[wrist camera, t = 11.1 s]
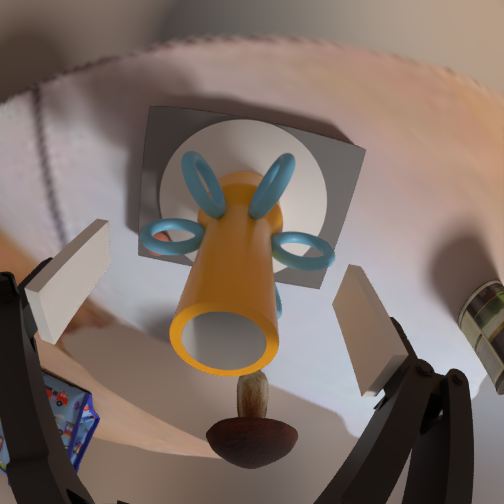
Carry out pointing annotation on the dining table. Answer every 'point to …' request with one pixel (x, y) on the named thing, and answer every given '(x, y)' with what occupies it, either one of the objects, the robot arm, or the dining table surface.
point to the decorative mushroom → (251, 428)
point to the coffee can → (486, 329)
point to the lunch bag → (65, 420)
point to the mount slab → (252, 160)
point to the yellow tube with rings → (233, 266)
